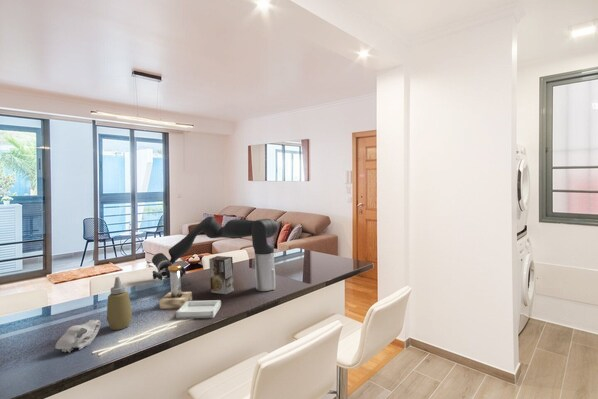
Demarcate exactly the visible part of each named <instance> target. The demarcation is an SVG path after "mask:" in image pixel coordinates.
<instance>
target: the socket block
mask: <svg viewBox="0 0 598 399" xmlns="http://www.w3.org/2000/svg"><path fill="white" fill-rule="evenodd" d="M187 301H193V292H192V291H181V297H180V298H171V291H169V292H168V293H166V294H165V295H164V296H162V298H160V299H159V302H158V303H159V309H180V308H181V307H182V306H183V305H184V304H185V303H186V302H187Z"/></svg>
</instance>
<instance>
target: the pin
mask: <svg viewBox="0 0 598 399" xmlns="http://www.w3.org/2000/svg"><path fill="white" fill-rule="evenodd" d="M181 267H182V265H181V264H173V265H171V266H169V267H168V270H170V278H169V279H170V292H171V298H180V297H181V292H182V284H181V277H180V269H181Z"/></svg>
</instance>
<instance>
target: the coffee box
mask: <svg viewBox="0 0 598 399" xmlns="http://www.w3.org/2000/svg"><path fill="white" fill-rule="evenodd" d="M208 262H209V263H208V264H209V275H210V276H209V279H210V293H214V294H219V295H220V294H222V295H228V294H230V293H232V292H234V291H235V290H234V289H235V286H234V266H233V256H223V255H222V256H221V255H216V256H214V257H210V258H209V259H208Z"/></svg>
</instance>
